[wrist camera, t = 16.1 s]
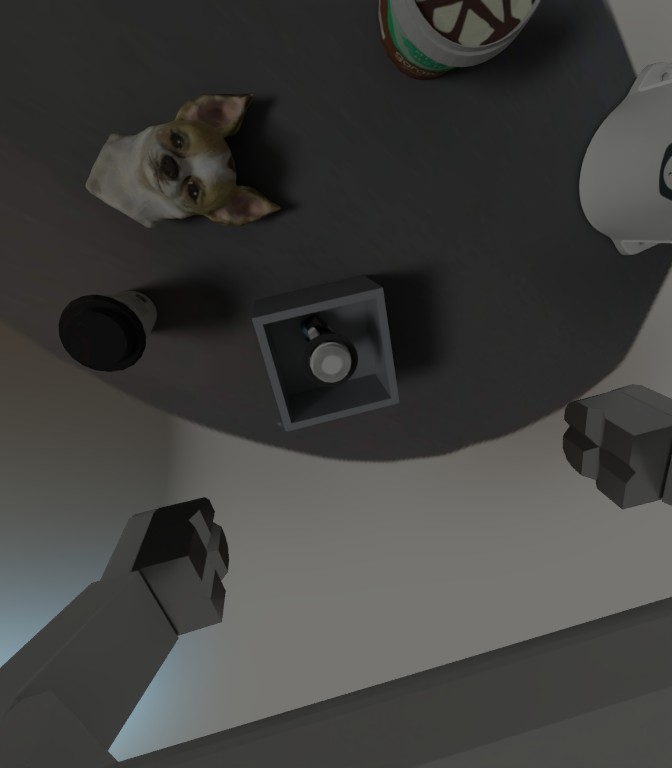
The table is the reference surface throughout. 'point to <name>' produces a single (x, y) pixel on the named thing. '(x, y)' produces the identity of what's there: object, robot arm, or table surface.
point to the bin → (357, 323)
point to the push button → (327, 354)
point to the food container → (448, 32)
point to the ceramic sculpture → (180, 168)
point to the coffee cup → (107, 329)
